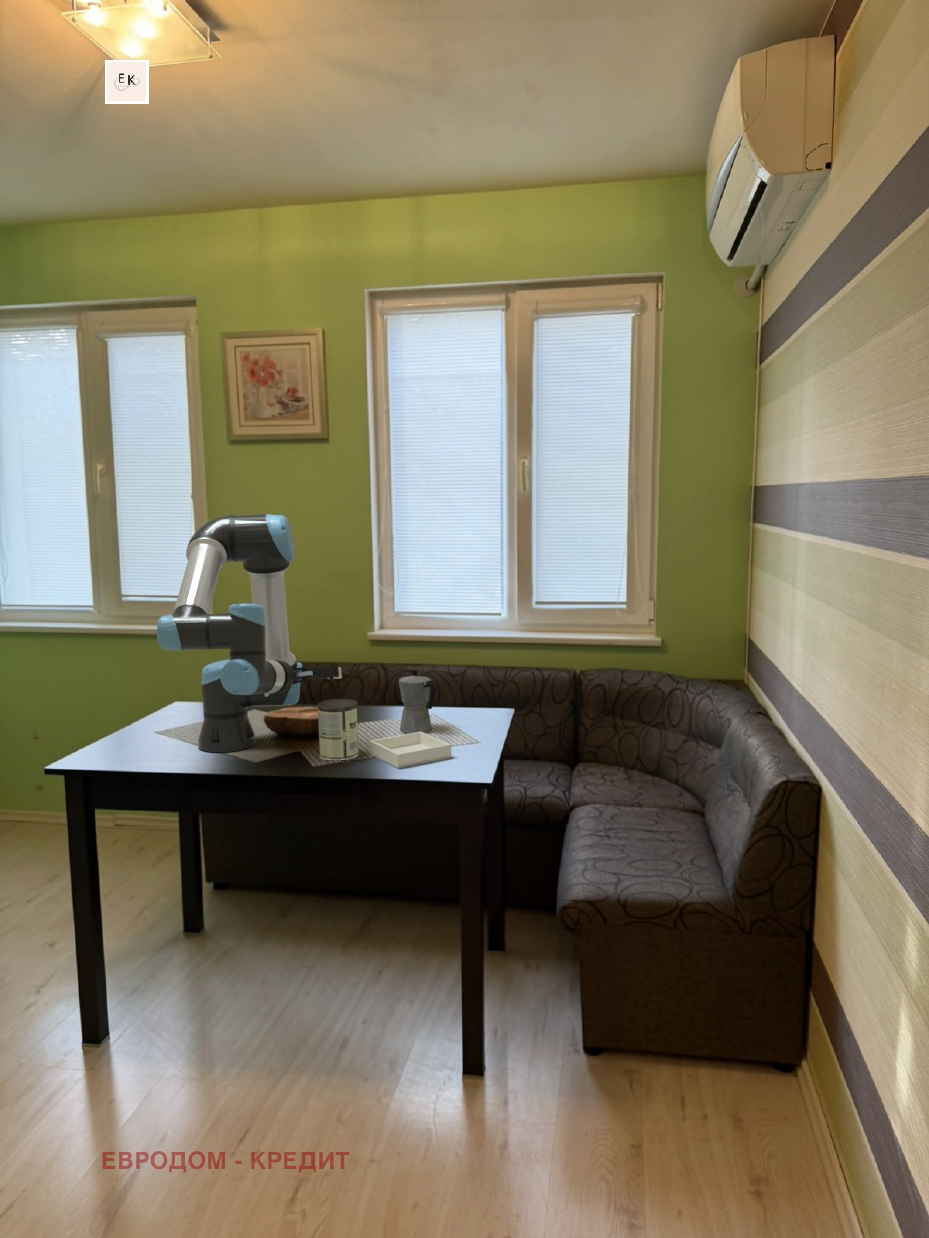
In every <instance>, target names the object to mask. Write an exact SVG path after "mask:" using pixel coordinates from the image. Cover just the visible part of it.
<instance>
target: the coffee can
mask: <svg viewBox="0 0 929 1238" xmlns="http://www.w3.org/2000/svg"><path fill="white" fill-rule="evenodd" d="M316 707H317V715H318V716H317V718H318V738H319V739H318V742H319V758H320V759H321V760H323V761H326V760H339V761H338V762H342V761H341V760H346V761H350V760H353V759H356V758H357V756H358V757H359V756H360V752H359V727H358V726H359V725H358V724H359V723H358V722H359V721H358V720H359V718H358V701H356V700H355V699H351V698H334V699H333V698H332V699H327V700H323V701H322V700H321V701H320V702H318V703H317V705H316Z"/></svg>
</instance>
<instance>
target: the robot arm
mask: <svg viewBox="0 0 929 1238" xmlns="http://www.w3.org/2000/svg"><path fill="white" fill-rule="evenodd" d="M293 536H294V535H293V531H292V527H291V524H290V522H289V519H288V518H287V517H286V516H285V515H282V514H281V515H280V514H279V515H278V514H270V513H267V514H242V515H241V514H236V515H233V514H230V515H229V514H226V515H220V516H217V517H215V518H213V519H211V520H209V521H208V522H206V523H205V524H203V525H202V526H201V527H200V528H198V529H197V530H196V532H194V534H193V535H192V536H191V538H190V540H188V544H187V547H186V550H185V551H186V552H185V556H186V560H187V564H186V566H185V570H184V572H183V577H182V581H181V584H180V587H179V591H178V595H177V598H176V602H175V605H174V609H173V612H172V614H171V613H170V614H167V615H162V616H160V617H159V618H158V620H157V624H156V638H157V639H156V640H157V643H158V645H159V647H160V649H161V650H164V651H179V652H181V651H198V650H229V659H225V660H223V659H222V660H219V661H215V662H212V663H209V664H206V665H205V666H204V667H203V668H202V669H201V670H202V671H201V682H200V686H201V693H202V707H203V708H202V710H203V721H202V724H201V727H200V732H199V735H198V738H197V743H198V749H199V750H201V751H203V752H209V753H230V752H232V753H233V752H238V751H242V750H246V749H249V748H251V747H254V745H256V741H257V739H256V733H255V731H254V728H253V725H252V723H251V721H250V718H249V714H248V713H249V711H248V708H253V707H254V708H256V707H258V708H259V707H284V706H285V707H286V706H294V705H296V704H297V703H298V702H299V700H300V692H301V691H300V690H301V684H303V683H307V682H308V680H320V679H322V680H323V679H327V680H329V681H330V682H331V681H335V680H336V679H337V680H338V679H339V680H340V679H342V678H343V677H342V675H343V674H342V667H339V666H338V665H334V666H321V667H308V666H307V667H303V663H301V662H299V661H297V657H296V655H295V654H294V653H292V652H291V649H290V638H289V637H290V636H289V623H288V611H287V609H288V608H287V607H288V606H287V595H286V593H287V592H286V582H285V572H286V571H287V570H288V569H289V568H290V562H292V561H294V560H295V557H296V555H295V554H296V553H295V546H294V545H295V543H294V537H293ZM227 562H234V563H236V562H237V563H238V562H242V568H243V571H245V572H246V573H247V574H249V579H250V588H251V589H250V590H251V591H250V592H251V601H252V603H233V604H231V605H229V607H228V612H227V613H211V608H212V605H213V601H214V597H215V596H214V595H215V591H216V589H217V583H218V579H219V575H220V570H221V569H222V568H223V567H224V566H225V564H226V563H227Z"/></svg>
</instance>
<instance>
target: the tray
mask: <svg viewBox="0 0 929 1238" xmlns="http://www.w3.org/2000/svg"><path fill="white" fill-rule="evenodd" d="M368 743H369V744H368V747H369V750H368V751H369V755H371V756H373V757H374V756H375V759H378V760H380V761H381V762H382V761H383V762H384V763H386V764H388V765H390V766H391V767H393V768H395V769H397V770H399V769H403V768H410V767H414V766H420V765H423V764H424V765H426V764H428V763H429V764H430V763H433V762H438V761H444V760H449V759H452V744H451V743H450V742H449V743H448V742H446V741H444V740H441V739H439V738H437V737H435V736H433V735H429V734H428V733H423V732H415V733H410V734H404V733H403V734H398V735H394V736H389V737H388V736H387V737H383V738H382V737H381V738H376V739H371V740H368Z"/></svg>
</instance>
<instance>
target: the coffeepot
mask: <svg viewBox="0 0 929 1238" xmlns="http://www.w3.org/2000/svg"><path fill="white" fill-rule="evenodd" d="M418 671H419V670H417V669H415V668H414V669H411V672H412V675H410V676H409V675H408V676H402V677H399V679H398V685H399V689H400V697H401V702H402V703H403V709H402V713H401V721H400V728H399V730H400V732H401V733H402V734H403V735H404V734H410V733H415V732H423V733H425V734H428V733H430V732H432V730H433V728H432V722H431V717H430V711H429V710H431V709H432V708H433V705H434V701H435V696H436V693H437V686H436V685H435V683H434V682H433V680H432V679H431V678H429V677H427V676H422V675H418Z"/></svg>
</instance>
